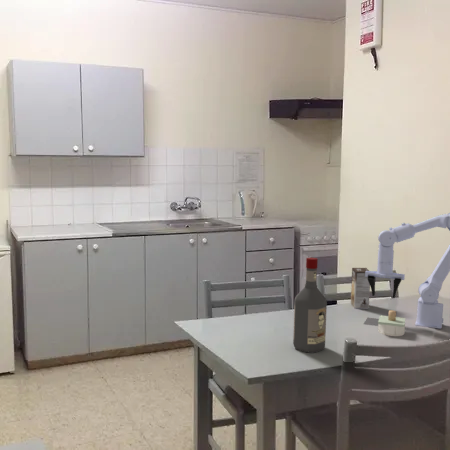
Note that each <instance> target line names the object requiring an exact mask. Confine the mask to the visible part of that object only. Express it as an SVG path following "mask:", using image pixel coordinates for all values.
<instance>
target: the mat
mask: <svg viewBox="0 0 450 450" xmlns="http://www.w3.org/2000/svg"><path fill="white" fill-rule="evenodd" d="M378 321H379V318H374V317H366V319H365V320H364V322H363V325H367V326H368V325H369V326H375V327H378Z"/></svg>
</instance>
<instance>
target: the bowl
mask: <svg viewBox="0 0 450 450" xmlns="http://www.w3.org/2000/svg"><path fill="white" fill-rule="evenodd" d="M377 331H378V333H379V334H381V335H384V336H389V337H401V336H404V335H405V332H406V325H405V326H404V327H401V326H392V325H383V324H378V326H377Z"/></svg>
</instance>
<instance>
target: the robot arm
mask: <svg viewBox="0 0 450 450" xmlns="http://www.w3.org/2000/svg"><path fill="white" fill-rule="evenodd" d="M437 227H438V228H442V229H447V230H448V231H449V232H450V212H449V213H444V214H440V215H436V216H434V217H431V218H428V219H425V220H423V221H420V222H418V223H414V224H411V223H410V222H408V223H405V222H402V223H401V225H398V226H395V227H389V228H388V229H389V230H388V229H384V230H382V231H380V233H379V235H378V236H377V238H378V242H379V243H378V250H377V270H375V271H374V270H369V271H366V272H365V277H368V282H369V284H370V291H371V295H372V297H375V296H376V279H377V278H382V279H392V280H393V292H392V299H395V298H396V294H397V291H398V288H399V286H400V284H401V282H402V281H405V279H406V278H405V275H406V274H404V273H397V272H394V270H393V269H394V253H395V251H394V245H395V244H396V243H397V244H398V243H400V242H404V241H407V240H410V239H413V238H414V237H415V235H416V234H417V233H420V232H424V231H427V230H430V229H434V228H437ZM449 273H450V244H449V245H448V247H447V249H445V251H444V253H443V255H442V256H441V258H440V259H439V262H437V265H436V266H435V267H434V270H433V271H432V272H431V274H430V275H429V276H428V277H427V278H426V279H425V281H424V282H422V283H421V284H420V285H419V286H418V291H417V292H418V293H419V295H420V297H419V298H418V299H417V310H416V320H415V323H414V326H416V327H417V326H418V327H424V328H425V327H426V328H432V329H442V328H443V323H444V318H443V317H444V316H443V315H444V314H443V313H444V303H441V302H439V296H440V292H441V290H442V286H443V283H444V281H445V279H446V278H447V276H448V275H449Z"/></svg>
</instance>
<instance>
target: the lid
mask: <svg viewBox="0 0 450 450" xmlns="http://www.w3.org/2000/svg"><path fill="white" fill-rule="evenodd" d="M378 319H379V321H378V324H383V325H392V326H401V327H404V326H405V327H406V317H399V316H397V311H396V310H388V315H379V317H378Z"/></svg>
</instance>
